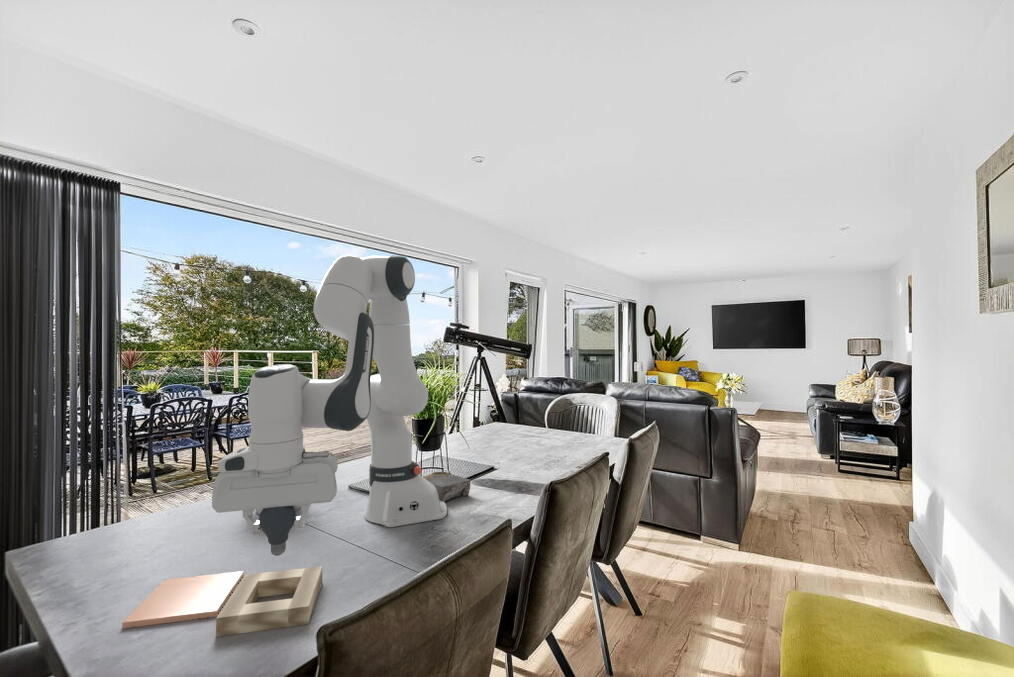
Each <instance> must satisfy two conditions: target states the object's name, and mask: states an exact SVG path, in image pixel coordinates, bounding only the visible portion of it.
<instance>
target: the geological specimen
mask: <svg viewBox="0 0 1014 677" xmlns="http://www.w3.org/2000/svg"><path fill="white" fill-rule="evenodd" d="M422 477H423V478H425V479H426V480H427V481H429V482H430V483H432V484H433V485H434V486H435V487H436V489H437V492H438V495H439V500H440V501H442V502H446V501H449V500H451V499H453V498H454V497H456V498H457V497H460V496H463V497H468V496H469V495H470V491H471V490H470V489H471V483H472V482H471V481H472V480H471V479H469V478H466V477H464V476H459V475H455V474H452V473H451V472H447V471H434V472H432V473H431V474H428V475H423V476H422ZM466 495H467V496H466Z"/></svg>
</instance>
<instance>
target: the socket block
mask: <svg viewBox="0 0 1014 677" xmlns="http://www.w3.org/2000/svg"><path fill="white" fill-rule="evenodd" d="M322 583H323V565H321V566H314V567H313V566H311V567H305V568H293V569H286V570H276V571H268V572H267V571H266V572H257V573H249V574H244V576H243V578H242V579H241V581H240V582H239V584H238V585H237V587H236V588H235V590H234V591H233V593H232V594H231V596H230V597H229V599H228V600H227V602H226V603H225V605H224V606H223V608H222V609H221V611H220V612H219V614H218V615H217V617H215V637H216V638H217V637H223V636H230V635H231V636H232V635H238V634H246V633H252V632H261V631H268V630H274V629H275V630H277V629H283V628H288V627H289V628H290V627H296V626H305V625H310V622H311V618H312V615H311V614H313V612H312V611H314V608H315V605H316V601H317V598H318V597H319V596H318V595H319V592H320V590H321V586H322ZM288 594H294V595H293V597H292V598H285V599H277V600H269V601H261V602H260V601H259V602H257V600H258V598H264V597H273V596H280V595H281V596H282V595H288ZM310 617H311V618H310Z"/></svg>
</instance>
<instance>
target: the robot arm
mask: <svg viewBox="0 0 1014 677" xmlns="http://www.w3.org/2000/svg"><path fill="white" fill-rule="evenodd" d="M415 279H416V276H415V269H414V267H413V264H412V263H411V261H410V260H409V259H408V258H407V257H405V256H401V255H393V254H392V255H389V256H388V255H369V256H365V257H359V256H356V255H352V254H347V255H342V256H339V257H338V258H336V260H334V261H333V263H332V264H331V266H330V267H329V269H328V270H327V272H326V273H325V275H324V278H323V279H322V281H321V284H320V286H319V288H318V290H317V294H316V295H315V299H314V303H313V314H314V317H315V319H316V321H317V323H318V324H319V325H320V326H321V327H322V328H323V329H324V330H325V331H327V332H328V333H330V334H332V335H334V336H336V337H338V338H341V339H344V340H346V341H347V342H348V346H347V351H346V352H347V354H346V361H345V368H344V373H343V375H341V376H340V377H338V378H335V379H316V378H310V377H307V376H306V375H303V374H302V373H300V370H299V368H298V366H297V365H293V364H290V363H289V364H287V363H286V364H284V363H282V364H280V363H279V364H274V365H268V366H267V365H266V366H264V367H261V368H259V369H257V370H256V371H255V372H253V373H252V376H251V379H250V383H249V387H248V388H249V389H248V400H247V401H248V402H247V403H248V404H247V405H248V407H247V410H248V411H247V413H248V414H247V417H248V420H249V423H250V434H249V436H248V446H246V447H243V448H240V449H238V450H234V451H232V452H231V453H228V454H227V455H225V456H223V457H222V458H221V459H220V460H219V461H218V463H217V469H218V471H219V472H220V473H218V474H217V476H216V477H215V479H214V482H213V488H212V497H211V507H212V509H213V510H214V511H215V512H216V513H218V514H219V513H231V512H240V511H242V517H243V519H244V520H245V521H246V523H247V524H248V525H249V533H250V534H251V535H252V534H253V535H254V534H258V533H259V534H260V533H261V531H262V529H261V527H260V524H259V519H257V518H256V517H255V515H254V512H256V509H263V508H271V507H283V506H294V505H301V509H300V510H301V511H302V514H300V515H298V516H297V515H296V519H295V520H294V524H293V526H294V530H297V529H300V530H301V529H304V527H305V523H306V515H307V514H308V512H309V510H310V508H311V506H312V505H313V504H325V503H330V502H333V500H334V499H335V497H336V496H337V492H338V489H337V488H338V485H337V477H336V472H337V471H338V462H339V461H338V456H336V454H334V453H333V452H330V451H328V450H322V451H305V452H303V446H304V436H303V434H304V432H303V429H302V428H311V429H312V428H313V429H317V428H318V429H332V430H336V431H337V430H339V431H343V432H344V431H345V432H351V431H354V430H355V429H357V428H358V427H359V426H361V424H363V423H364V421H366V419H367V424H368V428H369V433H370V457H371V458H370V462H371V463H370V465H369V468H368V483H369V487H370V488H369V494H368V502H367V505H366V510H365V513H364V518H365V520H366V521H368V522H370V523H372V524H373V523H374V524H378V525H382V526H384V527H387V528H393V527H400V526H407V525H412V524H418V523H423V522H429V521H430V522H431V521H434V520H441V519H444V518H445V517H446V516H447V514H448V506H447V503H445V502H446V501H445V502H442V501H440V500H439V495H438V492H437V489H436V487H435V486H434V485H433V484H432V483H430V482H429V481H427V480H426V479H425V478H423V476H421V473H422V468H421V466H420V465H419V463H418V462H417V461H413V436H412V432H411V430H410V428H409V427H408V425H407V423H406V420H405V417H410V416H414V415H418V414H420V413H421V412H423V411H424V410H425V408H426V406H427V405H428V400H429V390H428V388H427V386H426V384H425V383H424V382H423V381H422V380H421V378H420V376H419V374H418V371H417V368H416V365H415V362H414V358H413V354H412V346H411V344H412V343H411V341H412V340H411V325H410V324H411V322H410V312H409V305H408V300H407V297H408V296H409V295H410V294H411V292H412V290H413V289H414V287H415V284H416V283H415V282H416V281H415ZM369 301H370V302H369ZM368 304H369V313H368V314H367V307H368ZM373 360H374V362H375V364H376V367H377V369H378V373H375V374H373V375H372V366H373ZM303 458H304V459H303Z"/></svg>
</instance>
